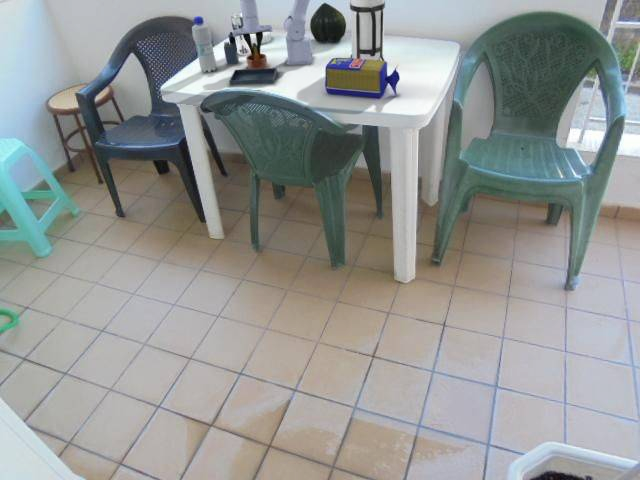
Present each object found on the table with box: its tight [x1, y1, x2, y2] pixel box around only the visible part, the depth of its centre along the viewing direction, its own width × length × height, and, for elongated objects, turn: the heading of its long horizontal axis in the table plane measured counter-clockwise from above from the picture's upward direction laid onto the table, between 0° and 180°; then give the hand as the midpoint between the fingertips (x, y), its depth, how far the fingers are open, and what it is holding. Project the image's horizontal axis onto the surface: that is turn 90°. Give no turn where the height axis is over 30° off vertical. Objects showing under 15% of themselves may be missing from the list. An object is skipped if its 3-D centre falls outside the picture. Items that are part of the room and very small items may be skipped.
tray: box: [229, 67, 278, 86], centre depth 179 cm, size 16×10×2 cm, turn 86°
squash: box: [309, 2, 347, 43], centre depth 204 cm, size 14×15×15 cm
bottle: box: [191, 15, 218, 73], centre depth 183 cm, size 7×7×20 cm
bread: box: [324, 57, 401, 99], centre depth 162 cm, size 10×25×10 cm, turn 70°
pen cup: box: [246, 53, 269, 69], centre depth 187 cm, size 8×8×4 cm
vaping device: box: [223, 31, 240, 65], centre depth 189 cm, size 3×5×12 cm, turn 78°
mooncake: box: [250, 32, 272, 46], centre depth 212 cm, size 12×12×4 cm
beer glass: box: [230, 12, 251, 56], centre depth 197 cm, size 7×7×15 cm
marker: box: [252, 43, 259, 60], centre depth 185 cm, size 2×2×8 cm
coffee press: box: [349, 0, 386, 61], centre depth 176 cm, size 17×16×30 cm
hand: (255, 53), depth 185 cm, fingers closed on marker, 2 cm apart
